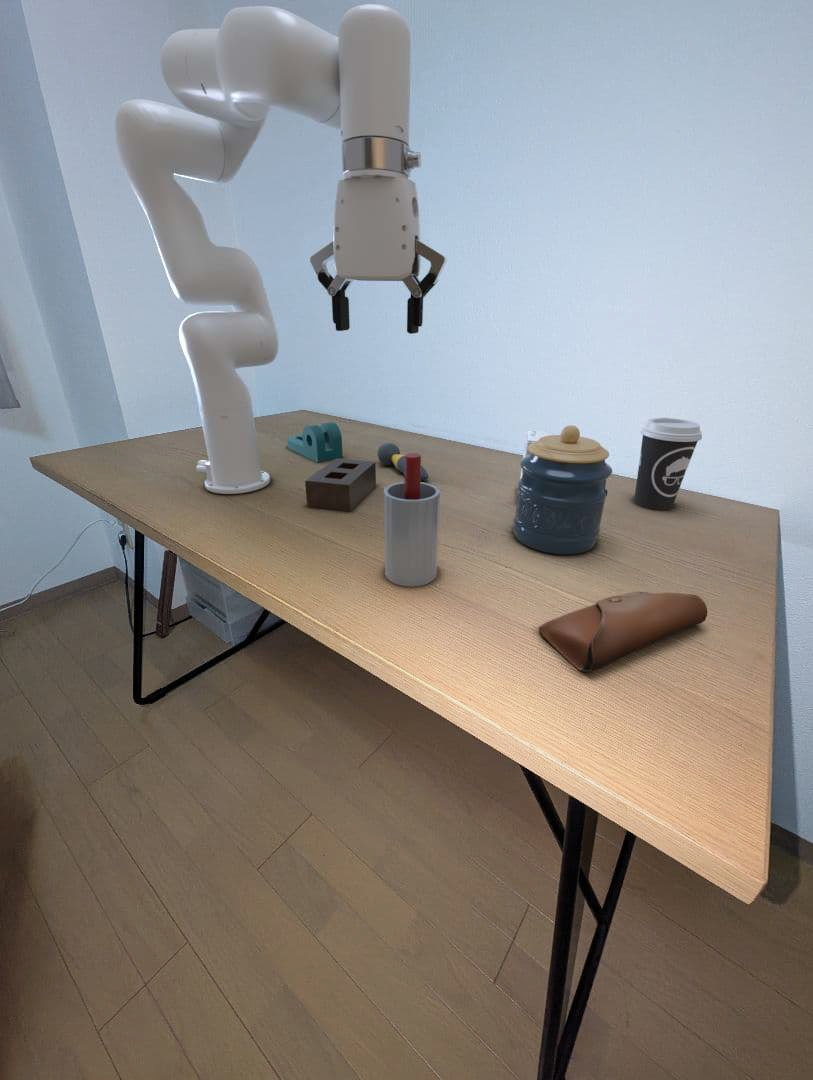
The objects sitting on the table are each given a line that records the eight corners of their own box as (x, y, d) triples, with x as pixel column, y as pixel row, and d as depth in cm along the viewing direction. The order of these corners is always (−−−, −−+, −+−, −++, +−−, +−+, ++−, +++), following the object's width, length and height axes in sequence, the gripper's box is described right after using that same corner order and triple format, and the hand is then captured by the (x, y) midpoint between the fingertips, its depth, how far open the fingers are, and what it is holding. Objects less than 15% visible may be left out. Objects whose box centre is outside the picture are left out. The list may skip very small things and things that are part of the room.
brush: (399, 572, 63) (399, 457, 56) (404, 563, 66) (405, 451, 58) (418, 575, 63) (420, 459, 56) (423, 566, 65) (425, 453, 58)
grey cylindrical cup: (378, 582, 62) (376, 497, 57) (393, 558, 68) (393, 479, 63) (430, 590, 61) (433, 503, 55) (440, 564, 67) (444, 484, 61)
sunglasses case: (640, 588, 60) (677, 560, 55) (677, 637, 57) (719, 613, 52) (532, 628, 53) (562, 601, 47) (567, 687, 49) (603, 665, 44)
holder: (307, 506, 86) (304, 480, 83) (337, 481, 98) (336, 458, 96) (350, 511, 84) (349, 485, 81) (376, 485, 96) (375, 461, 94)
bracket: (342, 457, 113) (341, 424, 110) (317, 462, 109) (315, 428, 106) (307, 442, 126) (304, 412, 122) (283, 446, 122) (280, 415, 118)
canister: (526, 514, 83) (539, 413, 75) (604, 531, 77) (627, 422, 69) (500, 543, 73) (512, 429, 65) (587, 564, 67) (612, 441, 59)
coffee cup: (680, 499, 90) (702, 419, 83) (683, 517, 82) (708, 431, 75) (626, 491, 93) (643, 414, 87) (624, 508, 86) (642, 425, 79)
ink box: (545, 506, 86) (555, 442, 81) (517, 504, 87) (525, 440, 82) (544, 490, 94) (552, 431, 88) (518, 488, 95) (525, 429, 89)
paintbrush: (440, 480, 99) (441, 456, 97) (422, 485, 96) (423, 461, 94) (386, 458, 113) (385, 437, 111) (368, 462, 110) (368, 441, 108)
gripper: (456, 172, 55) (448, 332, 62) (320, 178, 59) (328, 328, 67) (443, 154, 48) (435, 336, 56) (291, 162, 52) (303, 330, 60)
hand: (377, 331), depth 61 cm, fingers open, 9 cm apart
